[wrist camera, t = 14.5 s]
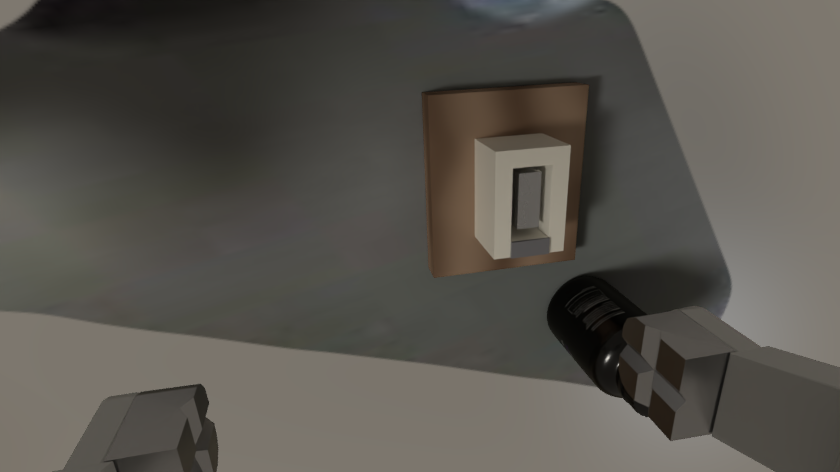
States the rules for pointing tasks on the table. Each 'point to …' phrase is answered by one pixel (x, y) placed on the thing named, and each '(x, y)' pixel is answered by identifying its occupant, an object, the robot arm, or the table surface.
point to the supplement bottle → (594, 331)
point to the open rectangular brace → (496, 194)
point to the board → (455, 164)
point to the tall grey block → (526, 197)
